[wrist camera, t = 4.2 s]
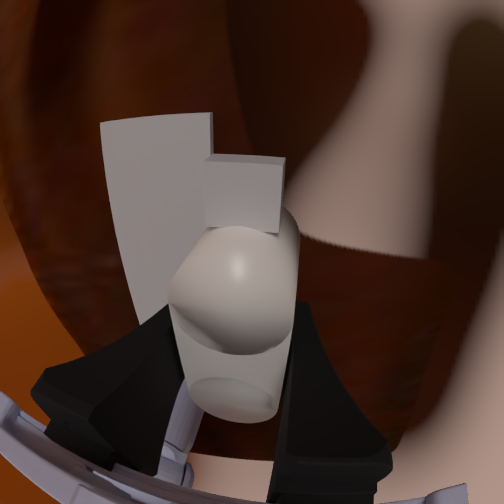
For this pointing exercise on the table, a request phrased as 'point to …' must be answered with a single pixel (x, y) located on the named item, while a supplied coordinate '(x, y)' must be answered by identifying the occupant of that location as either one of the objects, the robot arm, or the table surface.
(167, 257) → the grey mat
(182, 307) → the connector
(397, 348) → the table surface
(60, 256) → the table surface
